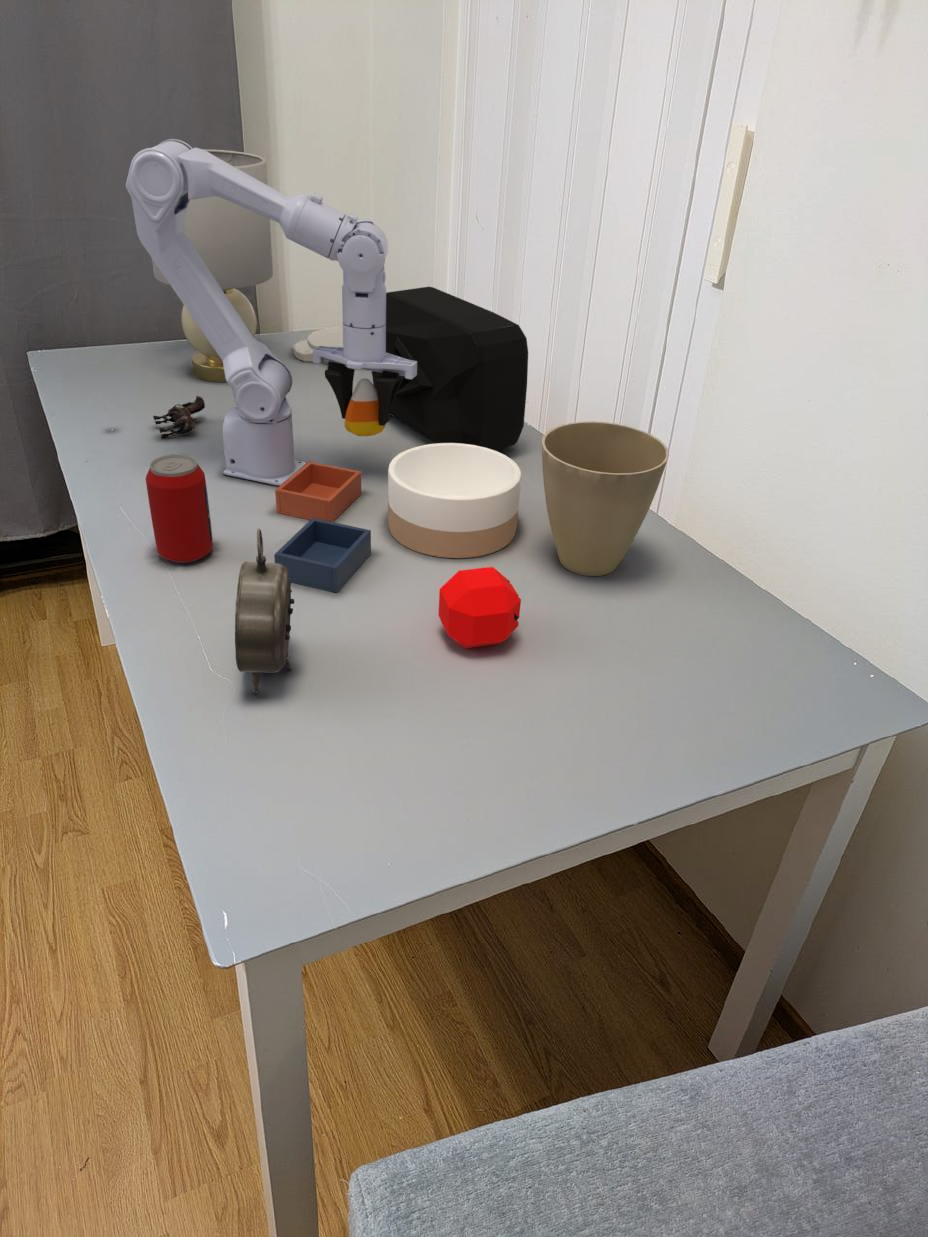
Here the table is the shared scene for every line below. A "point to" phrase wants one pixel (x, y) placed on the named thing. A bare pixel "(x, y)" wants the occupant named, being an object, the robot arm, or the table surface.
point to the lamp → (227, 257)
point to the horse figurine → (181, 417)
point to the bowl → (453, 499)
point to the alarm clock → (262, 616)
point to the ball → (479, 607)
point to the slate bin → (325, 554)
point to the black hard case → (457, 369)
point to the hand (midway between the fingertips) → (365, 419)
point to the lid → (318, 342)
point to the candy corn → (363, 410)
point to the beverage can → (179, 508)
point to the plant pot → (598, 490)
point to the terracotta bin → (318, 492)
